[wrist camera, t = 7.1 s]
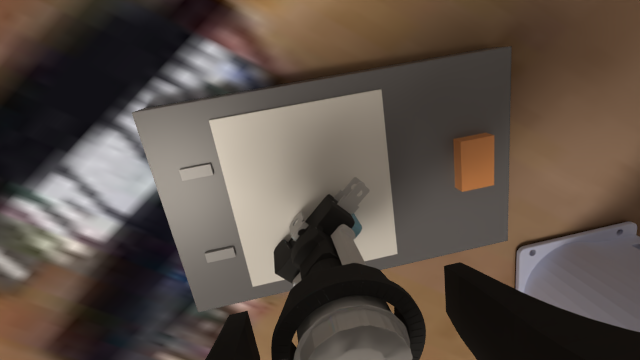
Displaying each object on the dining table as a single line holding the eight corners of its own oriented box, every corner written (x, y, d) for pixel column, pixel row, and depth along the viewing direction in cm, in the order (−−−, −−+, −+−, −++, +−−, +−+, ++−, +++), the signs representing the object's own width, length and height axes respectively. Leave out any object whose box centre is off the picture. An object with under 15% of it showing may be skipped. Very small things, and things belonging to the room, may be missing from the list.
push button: (322, 149, 19) (381, 232, 10) (392, 203, 21) (500, 319, 11) (249, 241, 20) (236, 398, 11) (320, 285, 22) (365, 455, 12)
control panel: (489, 47, 21) (521, 45, 18) (489, 227, 25) (515, 246, 22) (144, 108, 19) (125, 114, 16) (203, 291, 23) (196, 321, 20)
